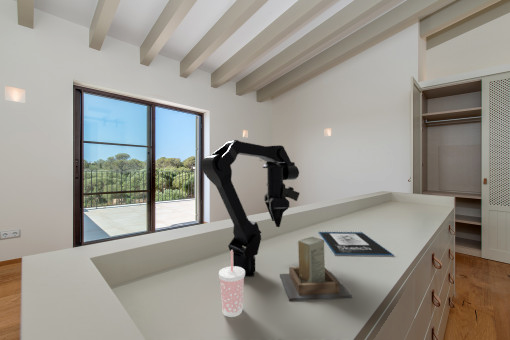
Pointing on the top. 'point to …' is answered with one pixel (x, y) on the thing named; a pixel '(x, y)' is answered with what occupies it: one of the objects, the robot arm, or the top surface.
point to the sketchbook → (353, 244)
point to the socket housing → (312, 287)
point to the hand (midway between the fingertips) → (275, 223)
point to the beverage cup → (232, 289)
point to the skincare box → (311, 260)
